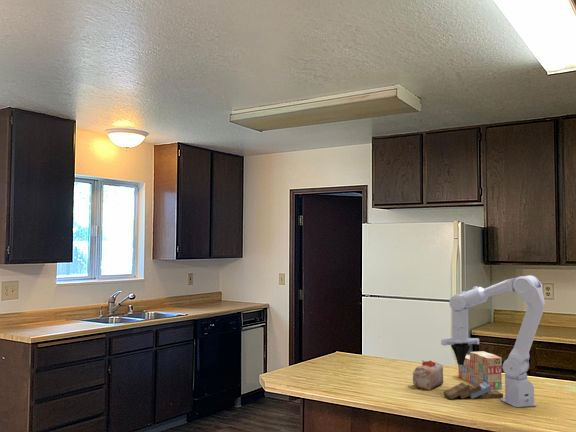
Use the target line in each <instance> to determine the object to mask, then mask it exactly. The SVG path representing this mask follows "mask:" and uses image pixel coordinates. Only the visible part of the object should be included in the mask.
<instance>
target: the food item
mask: <svg viewBox="0 0 576 432" xmlns="http://www.w3.org/2000/svg"><path fill="white" fill-rule="evenodd" d="M412 383H413V386H415V387H416V388H419V389H421V390H425V391H431V390H432V389H434V388H436V387H438V386H441V385H442V384H443V383H444V366H443V364H441V363H439V362H437V361H432V360H429V361H427V360H426V361H425V360H422V361H421V365H420V366H419V365H418V366H417V367H415V369H414V370H413V371H412Z"/></svg>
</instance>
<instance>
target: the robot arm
mask: <svg viewBox="0 0 576 432" xmlns="http://www.w3.org/2000/svg"><path fill="white" fill-rule="evenodd" d="M507 291H509V292H512V293H514V292H515V293H516V294H517V295H518V296H520V297H521V298H522V299H523V300H524V301H525V303H526V305H527V308H526V310H525V314H524V316H523V320H522V322H521V325H520V329H519V330H518V331H519V332H518V333H517V337H516V340H515V343H514V346H513V348H512V349H511V351H510V353H509V354H508V357H507V359H505V360H504V361H503V363H502V371H503V373H504V388H505V389H504V397H503V398H499V400H500V401H502V402H503V403H505V404H508V405H510V406H513V407H515V408H523V407H526V408H527V407H536V406H537V404H536V403H535V387H534V385H533V383H532V382H531V381H530V380H529V379H528V373H527V372H528V370H529V369H530V362H529V360H530V350H531V348H532V345H533V342H534V339H535V337H536V333H537V330H538V327H539V324H540V322H541V319H542V317H543V314H544V311H545V307H546V300H545V296H544V291H543V285H542V283H541V282H540V280H539V279H538V278H537V277H536V276H534V275H532V274H529V275H525V276H524V275H523V276H521V275H520V276H518V277H513V278H508V279H504V280H503V281H500V282H498V283H495V284H492V285H490V286H488V287H485V288H484V287H482V286H477V285H476V286H473V287H472V289H469V290H467V291H465V290H464V291H461V293H459V294H454V295H453V296H451V297H450V299H449V302H448V303H449V306H450V308H451V330H452V333H451V334H452V335H451V336H452V337H451V338H443V339H440V342H441V343H440V344H441V345H442V346H450V347H451V349H452V351H453V354H454V355H455V358H456V359H455V360H456V363H457V365H458V364H459V365H464V360H465V357H466V355H468V353H469V350H470V348H471V345H480V338H478V337H475V338H474V337H469V309H470V308H472V307H474V306H479V305H480V304H483V303H486V302H487V300H488V298H489V297H493V296H495V295H498V294H501V293H504V292H507Z"/></svg>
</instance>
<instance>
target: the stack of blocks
mask: <svg viewBox="0 0 576 432" xmlns="http://www.w3.org/2000/svg"><path fill="white" fill-rule="evenodd" d="M502 360H503V358H502V357H501V356H499V355H496V354H493V353H490V352H487V351H469V354H466V357H465V360H464V365H459V364H457V365H458V367H457V368H458V369H457V370H458V378H459V379H461V380H463V381H465V382H467V383H469V384H471V383H473V382H475V383H477V384H478V385H480V384H482V383H484V382H485V383H487V384H488V385H490V386H491V388H492V390H496V391H500V390H502V389H503V388H502V387H503V385H502V384H503V382H502V377H503V375H502V374H503V372H502V371H503V367H502V366H503V363H502V362H503V361H502ZM492 390H491V391H492Z"/></svg>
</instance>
